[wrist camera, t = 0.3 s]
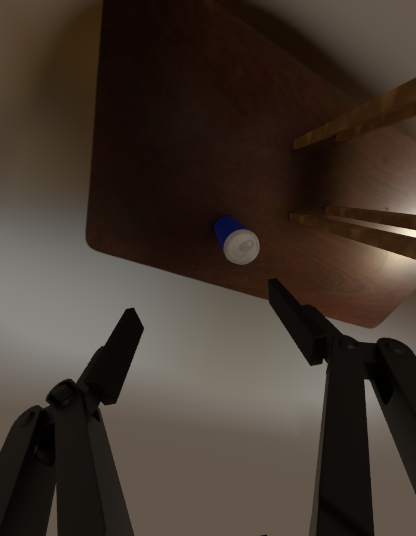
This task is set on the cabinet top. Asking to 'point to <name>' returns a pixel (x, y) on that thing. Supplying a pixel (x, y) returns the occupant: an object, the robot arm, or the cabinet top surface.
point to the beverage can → (236, 240)
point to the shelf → (352, 125)
